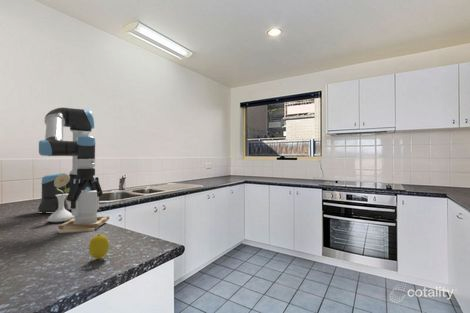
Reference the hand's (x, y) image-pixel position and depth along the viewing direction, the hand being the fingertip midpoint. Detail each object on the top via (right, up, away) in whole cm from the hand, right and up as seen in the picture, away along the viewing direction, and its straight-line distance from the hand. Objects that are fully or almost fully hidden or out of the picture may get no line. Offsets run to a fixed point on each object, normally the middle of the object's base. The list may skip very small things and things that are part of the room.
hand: (85, 212), depth 115 cm
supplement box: (0, -5, 0) cm, 5 cm away
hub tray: (0, -7, 0) cm, 7 cm away
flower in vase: (-18, -7, +9) cm, 21 cm away
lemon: (+29, -6, -39) cm, 49 cm away
